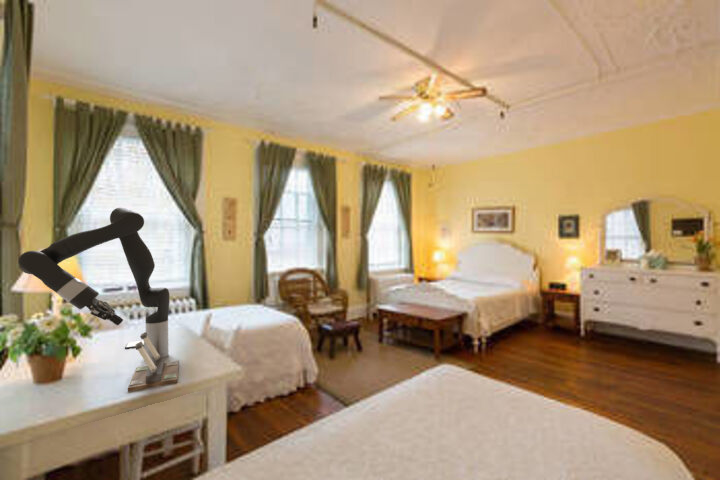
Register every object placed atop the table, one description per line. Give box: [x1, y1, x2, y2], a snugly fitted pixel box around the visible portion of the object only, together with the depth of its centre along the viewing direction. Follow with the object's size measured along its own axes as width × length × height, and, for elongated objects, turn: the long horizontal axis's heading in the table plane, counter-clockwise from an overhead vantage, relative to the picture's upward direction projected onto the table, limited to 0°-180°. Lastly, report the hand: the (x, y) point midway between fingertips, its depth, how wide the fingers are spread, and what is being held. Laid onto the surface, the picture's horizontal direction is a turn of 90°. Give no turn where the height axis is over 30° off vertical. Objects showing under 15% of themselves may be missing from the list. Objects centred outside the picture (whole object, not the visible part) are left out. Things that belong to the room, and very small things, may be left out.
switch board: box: [127, 357, 180, 393], centre depth 132 cm, size 16×21×4 cm
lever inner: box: [139, 331, 160, 361], centre depth 137 cm, size 2×4×13 cm, turn 27°
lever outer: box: [134, 342, 157, 373], centre depth 124 cm, size 2×4×13 cm, turn 27°
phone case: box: [124, 340, 144, 350], centre depth 171 cm, size 9×2×16 cm
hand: (120, 322), depth 120 cm, fingers closed
